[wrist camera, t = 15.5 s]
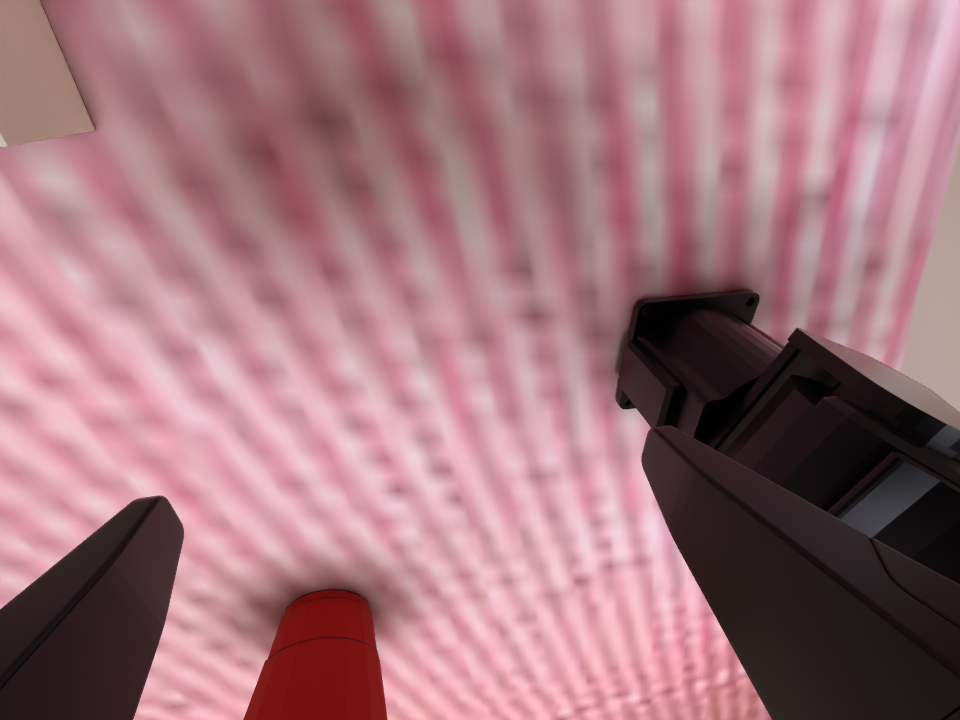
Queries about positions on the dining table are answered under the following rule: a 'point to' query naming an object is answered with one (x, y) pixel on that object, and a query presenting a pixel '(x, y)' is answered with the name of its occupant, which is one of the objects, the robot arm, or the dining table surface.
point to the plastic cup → (322, 663)
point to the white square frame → (35, 79)
